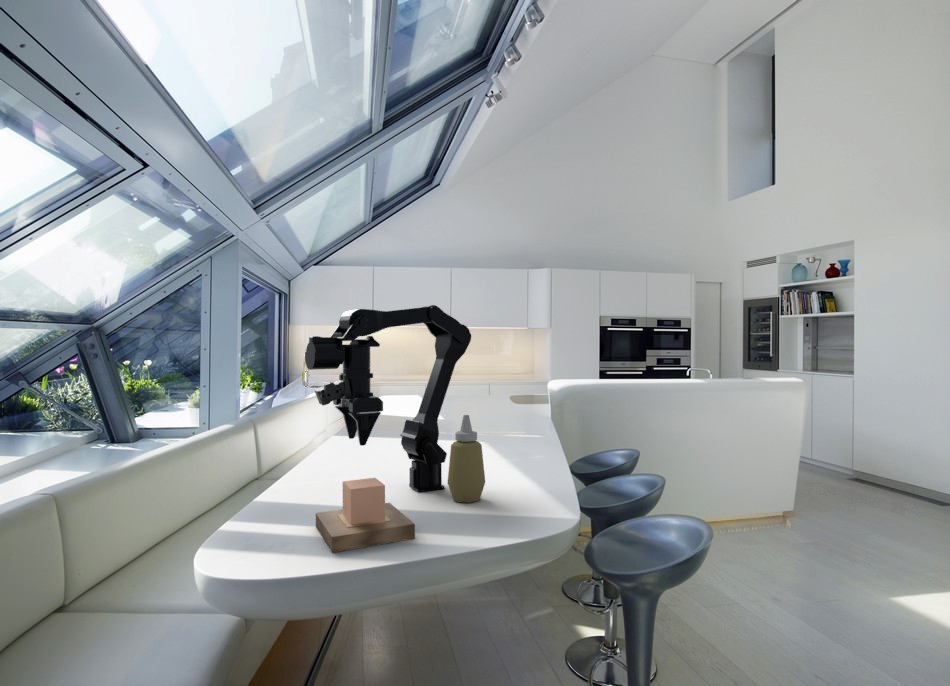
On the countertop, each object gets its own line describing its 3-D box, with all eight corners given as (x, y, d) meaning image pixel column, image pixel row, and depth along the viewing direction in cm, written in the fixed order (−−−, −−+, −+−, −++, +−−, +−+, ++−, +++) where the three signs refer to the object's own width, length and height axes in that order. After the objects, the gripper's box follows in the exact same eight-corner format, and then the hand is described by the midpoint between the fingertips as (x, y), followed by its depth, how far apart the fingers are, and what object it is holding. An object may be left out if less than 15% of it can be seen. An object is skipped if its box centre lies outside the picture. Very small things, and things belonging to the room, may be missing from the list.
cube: (375, 510, 101) (375, 477, 101) (385, 519, 95) (384, 485, 95) (342, 514, 98) (342, 481, 98) (350, 524, 93) (350, 489, 93)
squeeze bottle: (490, 496, 119) (489, 413, 119) (478, 506, 111) (478, 418, 112) (455, 493, 122) (455, 412, 122) (441, 503, 114) (441, 416, 114)
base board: (389, 515, 106) (389, 501, 106) (414, 538, 93) (414, 522, 93) (315, 526, 100) (315, 512, 100) (332, 552, 87) (332, 536, 87)
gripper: (309, 367, 121) (310, 438, 121) (327, 371, 104) (327, 453, 104) (359, 366, 126) (359, 434, 126) (383, 369, 109) (384, 447, 109)
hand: (356, 441), depth 116 cm, fingers open, 9 cm apart
